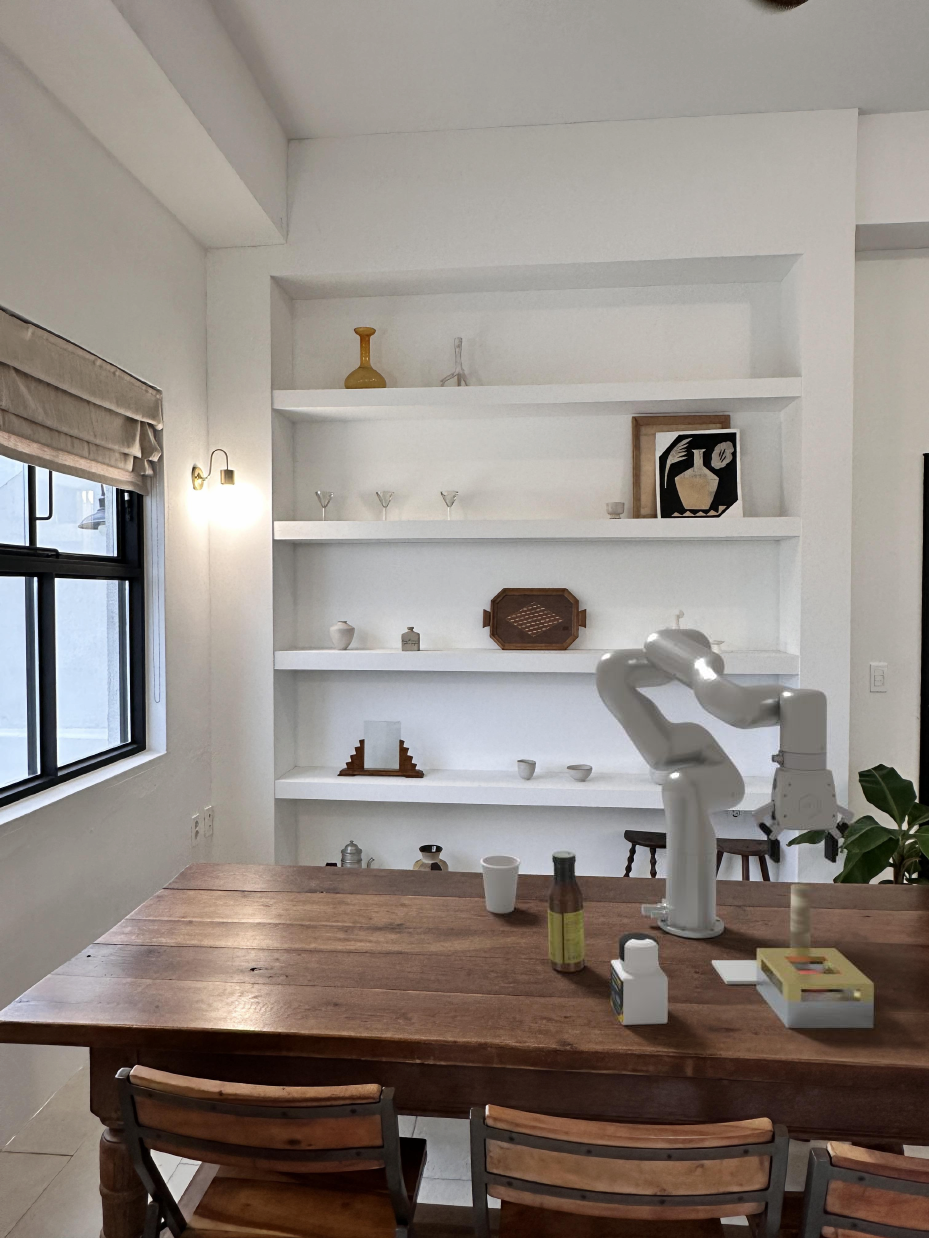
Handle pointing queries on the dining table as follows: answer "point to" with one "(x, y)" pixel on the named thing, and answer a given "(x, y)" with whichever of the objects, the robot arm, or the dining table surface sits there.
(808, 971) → the button
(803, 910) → the beige cylinder rod
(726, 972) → the pad
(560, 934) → the sauce bottle
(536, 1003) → the dining table surface
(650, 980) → the medicine bottle
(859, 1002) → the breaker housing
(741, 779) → the robot arm
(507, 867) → the dixie cup
